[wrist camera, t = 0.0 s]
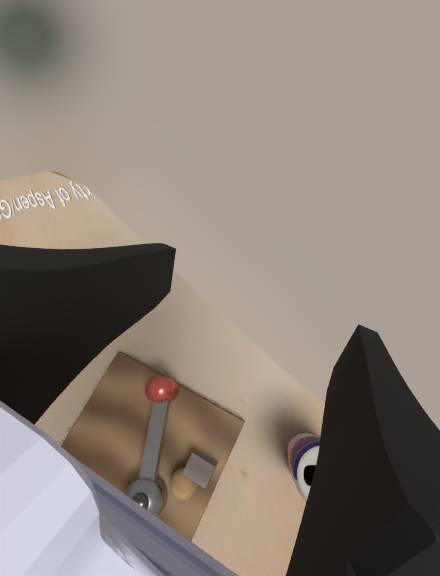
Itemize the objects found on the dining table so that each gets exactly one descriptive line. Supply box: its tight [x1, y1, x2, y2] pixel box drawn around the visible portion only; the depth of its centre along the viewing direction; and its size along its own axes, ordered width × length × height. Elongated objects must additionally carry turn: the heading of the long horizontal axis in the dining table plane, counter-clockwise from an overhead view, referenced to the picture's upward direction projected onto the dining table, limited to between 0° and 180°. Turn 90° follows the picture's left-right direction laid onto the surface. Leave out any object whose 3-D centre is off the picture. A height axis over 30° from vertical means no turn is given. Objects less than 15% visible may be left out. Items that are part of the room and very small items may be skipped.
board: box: [61, 352, 245, 541], centre depth 38 cm, size 15×20×5 cm
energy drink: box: [285, 433, 320, 502], centre depth 31 cm, size 5×5×12 cm
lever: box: [124, 376, 179, 517], centre depth 35 cm, size 18×4×5 cm, turn 173°
